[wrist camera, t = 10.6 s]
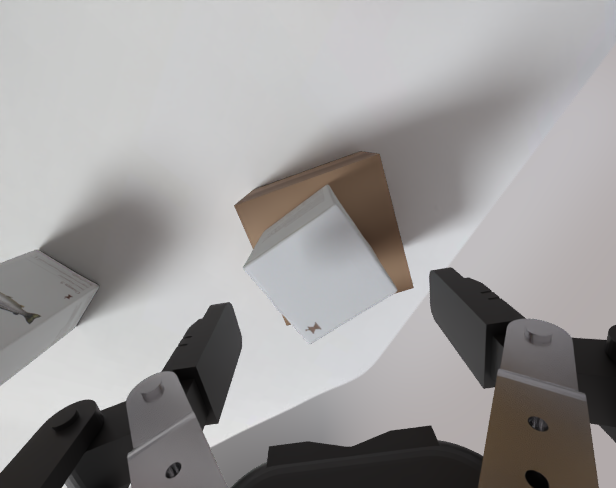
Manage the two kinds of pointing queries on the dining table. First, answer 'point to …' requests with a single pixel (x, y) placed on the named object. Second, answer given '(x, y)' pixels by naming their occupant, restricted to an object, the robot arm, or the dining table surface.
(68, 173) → the dining table surface
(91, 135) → the dining table surface
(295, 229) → the skincare box
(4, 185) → the dining table surface
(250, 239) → the walnut block
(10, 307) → the supplement box
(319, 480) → the robot arm
